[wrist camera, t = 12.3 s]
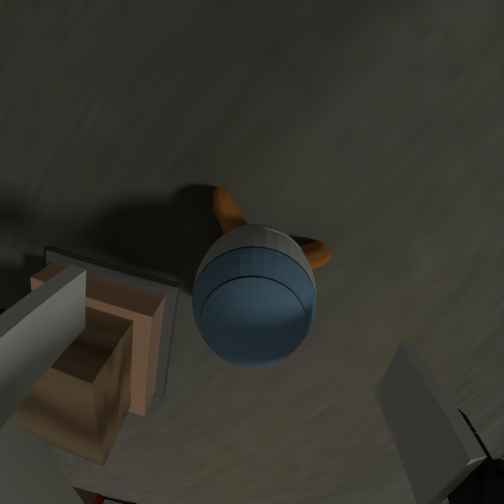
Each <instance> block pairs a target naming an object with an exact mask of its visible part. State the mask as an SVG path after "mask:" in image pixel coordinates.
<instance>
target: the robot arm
mask: <svg viewBox="0 0 504 504" xmlns="http://www.w3.org/2000/svg"><path fill="white" fill-rule="evenodd" d="M85 296H86V269H83V268H79V267H76V266H73V265H70V266H69V267H67V268H66V269H64V270H63V271H61V272H60V273H58V274H57V275H55V276H54V277H52V278H51V279H49V280H48V281H47V282H45V283H44V284H42V285H41V286H39V287H38V288H37V289H35V290H34V291H32V292H31V293H30V294H28V295H27V296H25V297H24V298H23V299H21V300H20V301H18V302H17V303H16V304H14V305H13V306H12V307H10V308H9V309H8V310H6V309H4V308H3V309H0V429H1V428H2V426H3V425H4V424H5V423H6V421H7V420H8V419H9V417H10V416H11V415H12V414H13V412H14V411H15V410H16V408H17V407H18V406H19V405H20V403H21V402H22V401H23V400H24V398H25V397H26V396H27V395H28V394H29V392H30V391H31V390H32V389H33V387H34V386H35V385H36V384H37V383H38V381H39V380H40V379H41V378H42V377H43V375H44V374H45V373H46V372H47V371H48V369H49V368H50V367H51V366H52V365H53V364H54V362H55V361H56V360H57V359H58V358H59V357H60V356H61V354H62V353H63V352H64V351H65V350H66V349H67V348H68V346H69V345H70V344H71V343H72V342H73V341H74V340H75V338H76V337H77V336H78V335H79V334H80V333H81V332H82V331H83V330H84V328H85ZM375 395H376V397H377V399H378V402H379V404H380V407H381V409H382V412H383V414H384V417H385V419H386V421H387V424H388V426H389V429H390V431H391V434H392V437H393V439H394V442H395V444H396V447H397V449H398V452H399V455H400V457H401V460H402V463H403V465H404V468H405V471H406V473H407V476H408V479H409V482H410V484H411V487H412V490H413V493H414V496H415V498H416V501H417V504H440V503H441V502H442V501H443V500H444V499H445V498H446V497H448V500H449V502H450V503H449V504H504V460H502V459H494V460H493V459H492V457H491V455H490V454H489V452H488V450H487V449H486V447H485V445H484V444H483V442H482V440H481V439H480V437H479V436H478V434H476V433H477V432H476V431H475V429H474V427H472V424H471V423H470V421H469V420H468V418H467V416H466V415H465V414H464V413H463V412H461V411H460V410H459V409H458V408H457V407H456V405H455V404H454V402H453V401H452V399H451V398H450V396H449V395H448V393H447V392H446V390H445V389H444V387H443V386H442V384H441V383H440V381H439V380H438V378H437V377H436V375H435V374H434V372H433V371H432V369H431V368H430V366H429V365H428V363H427V362H426V361H425V359H424V358H423V356H422V355H421V353H420V352H419V351H418V349H417V348H416V346H415V345H412V344H406V343H400V345H399V347H398V349H397V351H396V353H395V355H394V357H393V359H392V360H391V362H390V364H389V366H388V368H387V370H386V372H385V374H384V376H383V377H382V379H381V381H380V383H379V385H378V386H377V388H376V390H375Z"/></svg>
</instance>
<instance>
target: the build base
mask: <svg viewBox="0 0 504 504" xmlns="http://www.w3.org/2000/svg"><path fill="white" fill-rule="evenodd" d="M70 265H73V266H76V267H79V268H83V269H86V296H85V306H88V307H91V308H94V309H97V310H100V311H103V312H107V313H110V314H113V315H116V316H119V317H123V318H126V319H129V320H133V321H134V324H133V341H132V367H131V406H130V408H129V410H128V411H129V412H132V413H135V414H138V415H142V416H145V414H146V411H147V409H148V406H149V404H150V401H151V399H152V397H155V398H158V399H162V400H163V398H164V395H165V389H166V380H167V372H168V365H169V357H170V350H171V343H172V336H173V329H174V322H175V316H176V310H177V303H178V297H179V291H180V285H181V283H177V282H173V281H169V280H165V279H162V278H158V277H154V276H150V275H147V274H143V273H139V272H136V271H132V270H128V269H125V268H121V267H118V266H114V265H111V264H107V263H104V262H100V261H97V260H93V259H90V258H86V257H83V256H80V255H76V254H73V253H70V252H66V251H63V250H60V249H57V248H53V247H51V248H49V249H47V250H46V267H45V268H43V269H42V270H40V271H39V272H37V273H36V274H34V275H33V276H31V292H32V291H34V290H35V289H37V288H38V287H39V286H41V285H42V284H44V283H45V282H47V281H48V280H49V279H51V278H52V277H54V276H55V275H57V274H58V273H60V272H61V271H63V270H64V269H66V268H67V267H69V266H70Z"/></svg>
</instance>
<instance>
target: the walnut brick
mask: <svg viewBox="0 0 504 504" xmlns="http://www.w3.org/2000/svg"><path fill="white" fill-rule="evenodd" d="M133 324H134V321H133V320H129V319H126V318H123V317H119V316H116V315H113V314H110V313H107V312H103V311H100V310H97V309H94V308H91V307H88V306H85V328H84V330H83V331H82V332H81V333H80V334H79V335H78V336H77V337H76V338H75V340H74V341H73V342H72V343H71V344H70V345H69V346H68V348H67V349H66V350H65V351H64V352H63V353H62V354H61V356H60V357H59V358H58V359H57V360H56V361H55V362H54V364H53V365H52V366H51V367H50V368H49V369H48V371H47V372H46V373H45V374H44V375H43V377H42V378H41V379H40V380H39V381H38V383H37V384H36V385H35V386H34V387H33V389H32V390H31V391H30V392H29V394H28V395H27V396H26V397H25V398H24V400H23V401H22V402H21V403H20V405H19V406H18V407H17V408H16V410H15V411H14V412H13V414H12V418H13V420H14V423H15V425H16V426H18V427H20V428H22V429H24V430H25V431H28V432H29V433H31V434H33V435H35V436H37V437H39V438H41V439H43V440H45V441H47V442H49V443H51V444H53V445H55V446H57V447H59V448H61V449H63V450H66V451H68V452H70V453H72V454H75V455H77V456H79V457H82V458H84V459H87V460H89V461H92V462H94V463H97V464H99V465H102V466H104V464H105V462H106V460H107V457H108V455H109V453H110V450H111V448H112V446H113V444H114V441H115V439H116V437H117V435H118V432H119V430H120V428H121V426H122V423H123V421H124V419H125V417H126V415H127V412H128V410H129V408H130V406H131V367H132V341H133Z"/></svg>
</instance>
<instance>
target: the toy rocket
mask: <svg viewBox="0 0 504 504" xmlns="http://www.w3.org/2000/svg"><path fill="white" fill-rule="evenodd" d="M213 207H214V211H215V214H216V216H217V219H218V221H219V223H220V226H221V228H222V230H223V232H224V235H223V236H222V237H221V238H219V239H218V240H217V241H216V242H215V243H214V244H213V245H212V246H211V248H210V249H209V250H208V251H207V253H206V254H205V256H204V258H203V260H202V262H201V264H200V266H199V268H198V270H197V273H196V277H195V281H194V286H193V294H192V306H193V313H194V317H195V322H196V324H197V327H198V329H199V331H200V333H201V335H202V337H203V339H204V340H205V341H206V343H207V344H208V345H209V346H210V348H211V349H212V350H213V351H214V352H215V353H216V354H217V355H218V356H219V357H221V358H223V359H224V360H226V361H228V362H230V363H232V364H235V365H238V366H243V367H252V368H256V367H265V366H269V365H273V364H275V363H278V362H280V361H282V360H283V359H285V358H286V357H288V356H289V355H290V354H291V353H292V352H293V351H294V350H295V349H296V348H297V347H298V346H299V345H300V344H301V343H302V341H303V340H304V338H305V337H306V335H307V333H308V331H309V329H310V327H311V325H312V322H313V319H314V314H315V308H316V286H315V280H314V276H313V273H312V270H315V269H317V268H320V267H322V266H323V265H325V264H327V263H328V262H329V261H330V259H331V256H332V253H331V250H330V249H329V248H328V247H327V246H326V245H325V244H324V243H322V242H320V241H316V242H312V243H308V244H305V245H301V246H300V247H299V245H298V244H297V243H296V242H295V241H294V240H293V239H292V238H291V237H290V236H288V235H287V234H286V233H285V232H282V231H280V230H278V229H276V228H274V227H271V226H267V225H260V224H250V225H248V224H247V222H246V221H245V220H244V218H243V217H242V215H241V212H240V210H239V209H238V207H237V205H236V204H235V202H234V200H233V199H232V197H231V195H230V192H229V191H228V190H226V189H224V188H221V187H220V188H216V189H215V190H214V192H213Z"/></svg>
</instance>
